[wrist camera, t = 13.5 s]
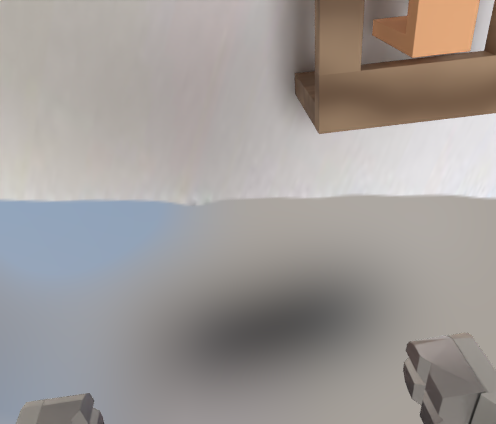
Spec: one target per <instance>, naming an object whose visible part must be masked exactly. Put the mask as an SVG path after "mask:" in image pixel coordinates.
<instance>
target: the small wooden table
mask: <svg viewBox="0 0 496 424" xmlns="http://www.w3.org/2000/svg"><path fill="white" fill-rule="evenodd" d="M364 2H365V0H315V71H311V72H302V73H295V94H296V96H297V98H298V99H299V101H300V103H301V104H302V106H303V108H304V109H305V111H306V113H307V114H308V116H309V118H310V120H311V121H312V123H313V125H314V126H315V128H316V130H317V131H318V133H319V134H323V133H331V132H339V131H348V130H356V129H365V128H373V127H382V126H390V125H398V124H407V123H415V122H424V121H432V120H441V119H449V118H457V117H466V116H474V115H483V114H491V113H496V0H495V2H494V7H493V11H492V16H491V21H490V26H489V30H488V35H487V40H486V45H485V50H484V51H478V52H469V53H460V54H451V55H442V56H434V57H425V58H416V59H407V60H399V61H390V62H381V63H372V64H364V65H361V54H362V36H363V19H364Z"/></svg>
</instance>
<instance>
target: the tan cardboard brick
mask: <svg viewBox="0 0 496 424" xmlns="http://www.w3.org/2000/svg"><path fill="white" fill-rule="evenodd" d="M479 2H480V0H409V5H408V15H407V16H401V17H392V18H383V19H374V20H373V32H372V35H373V36H375V37H376V38H378V39H380V40H382V41H383V42H385V43H387V44H389V45H391V46H392V47H394V48H396V49H398V50H399V51H401V52H403V53H405V54H407V55H408V56H410V57H412V58H414V57H423V56H432V55H440V54H449V53H458V52H467V51H470V49H471V44H472V39H473V33H474V28H475V23H476V18H477V12H478V7H479Z"/></svg>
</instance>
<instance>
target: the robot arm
mask: <svg viewBox="0 0 496 424" xmlns="http://www.w3.org/2000/svg"><path fill="white" fill-rule="evenodd" d="M406 352H407V354H408V356H409V358H407V359H406V360H405V362H404V368H403V372H404V378H405V383H406V386H407V389H408V391H409V393H410V396H411V398H412V399H413V400H414V401H416V402H418V403H419V404H420V405H421V411H420V417H421V419H422V421H423V423H424V424H496V369H495V368H494V366H493V365H492V364H491V362H490V361H489V359H488V358H487V356H486V355H485V353H484V352H483V351H482V349H481V348H480V346H479V345H478V343H477V342H476V341H475V339H474V338H473V336H472V335H470V334H469V333H459V334H453V335H448V336H446V335H444V336H438V337H432V338H427V339H421V340H415V341H410V342H409V343H408V344H407V347H406ZM93 404H94V399H93V398H92V396H91V394H90V393H87V394H79V395H73V396H66V397H59V398H52V399H44V400H38V401H31V402H26V404H25V405H24V406H23V408H22V409H21V411H20V414H19V417H18V419H17V422H16V424H104V421H103V416H102V414H101V412H100V411H99V410H97V409H95V408H93Z"/></svg>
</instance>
